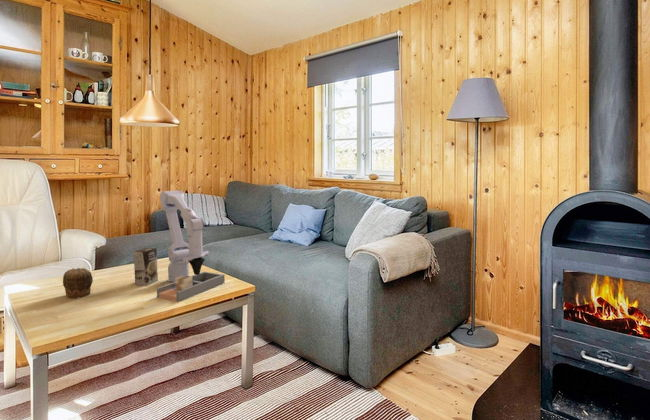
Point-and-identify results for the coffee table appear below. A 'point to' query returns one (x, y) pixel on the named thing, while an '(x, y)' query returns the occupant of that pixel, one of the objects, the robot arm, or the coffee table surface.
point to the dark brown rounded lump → (77, 282)
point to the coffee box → (145, 266)
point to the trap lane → (199, 285)
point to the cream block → (183, 282)
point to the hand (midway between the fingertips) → (196, 274)
